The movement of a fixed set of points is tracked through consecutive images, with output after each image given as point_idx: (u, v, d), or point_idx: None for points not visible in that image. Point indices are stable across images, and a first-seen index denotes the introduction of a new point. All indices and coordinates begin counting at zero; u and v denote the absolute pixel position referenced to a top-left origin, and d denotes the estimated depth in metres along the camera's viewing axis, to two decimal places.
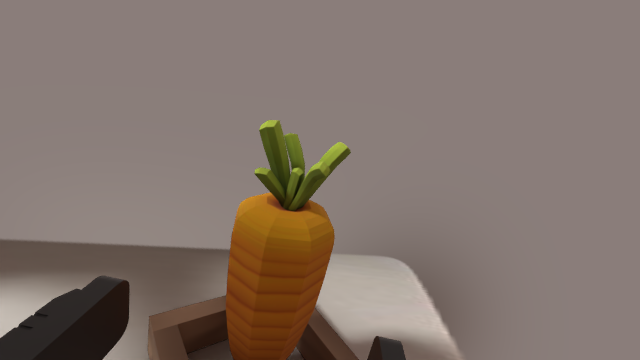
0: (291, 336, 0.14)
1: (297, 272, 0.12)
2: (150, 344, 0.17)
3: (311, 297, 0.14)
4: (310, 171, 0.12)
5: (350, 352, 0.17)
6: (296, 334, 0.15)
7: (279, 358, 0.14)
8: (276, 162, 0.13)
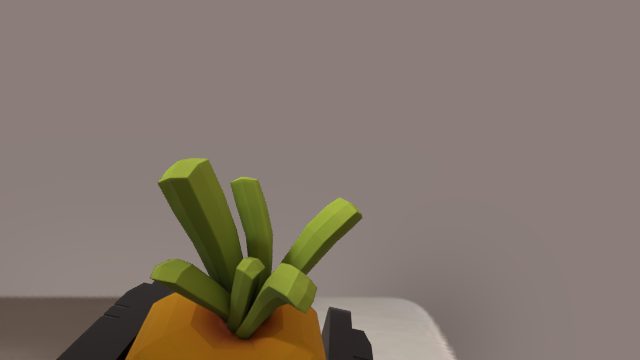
0: None
1: None
2: None
3: None
4: (271, 284, 0.05)
5: None
6: None
7: None
8: (207, 245, 0.06)
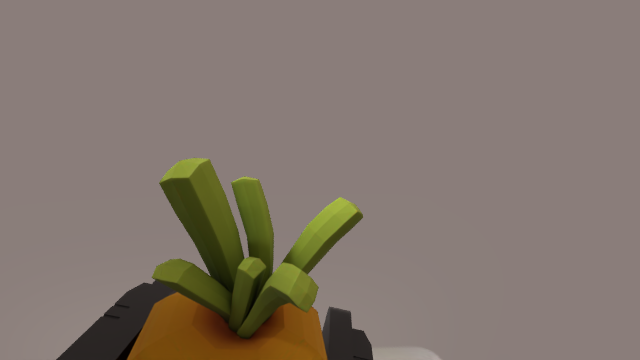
0: None
1: None
2: None
3: None
4: (272, 284, 0.05)
5: None
6: None
7: None
8: (209, 245, 0.06)
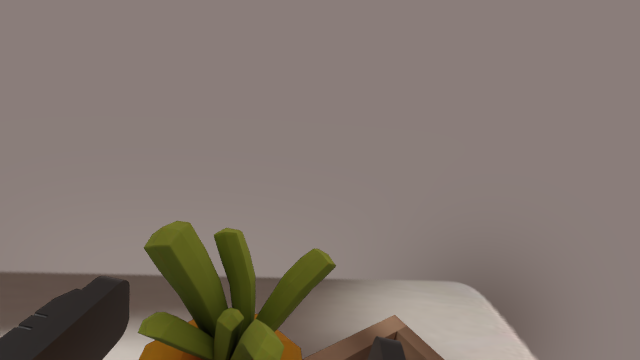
0: None
1: None
2: None
3: None
4: (245, 342, 0.06)
5: None
6: None
7: None
8: (191, 298, 0.07)
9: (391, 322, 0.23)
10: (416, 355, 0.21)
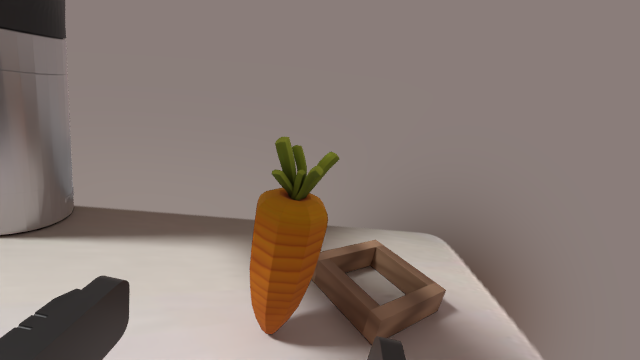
0: (296, 291, 0.20)
1: (301, 242, 0.18)
2: None
3: (311, 263, 0.19)
4: (310, 172, 0.17)
5: (425, 276, 0.30)
6: (300, 291, 0.20)
7: (288, 308, 0.20)
8: (286, 166, 0.18)
9: (373, 242, 0.34)
10: (387, 259, 0.32)
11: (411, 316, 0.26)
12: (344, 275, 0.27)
